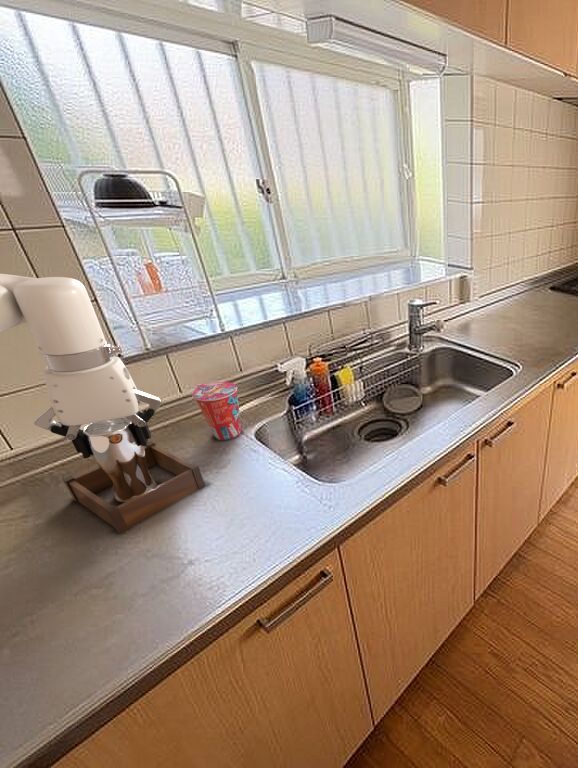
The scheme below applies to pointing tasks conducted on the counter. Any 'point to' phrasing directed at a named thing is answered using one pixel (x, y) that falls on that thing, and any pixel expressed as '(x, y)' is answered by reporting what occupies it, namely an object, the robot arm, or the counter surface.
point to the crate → (145, 502)
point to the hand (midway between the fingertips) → (117, 447)
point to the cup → (220, 408)
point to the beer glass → (119, 456)
